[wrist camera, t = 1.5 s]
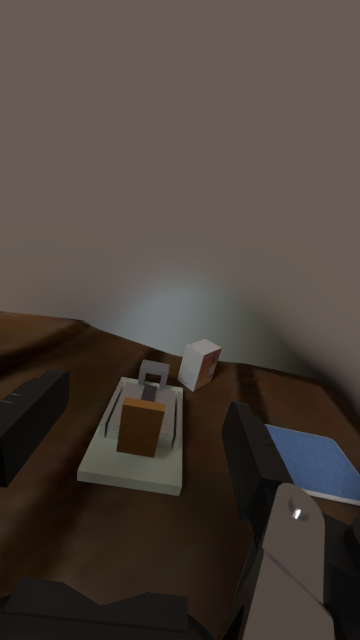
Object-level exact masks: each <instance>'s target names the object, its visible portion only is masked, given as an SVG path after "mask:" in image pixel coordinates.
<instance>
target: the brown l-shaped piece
mask: <svg viewBox="0 0 360 640" xmlns="http://www.w3.org/2000/svg"><path fill="white" fill-rule="evenodd" d="M156 391H157V386H153V385H147V384H145V386H144V390H143V393H142V397H141V400H140V399H134V398H128V397H125V399H124V402H123V405H122V413H121V420H120V427H119V435H118V442H117V449H116V452H120V453H127V454H133V455H139V456H145V457H151V458H154V456H155V452H156V447H157V443H158V439H159V435H160V430H161V426H162V422H163V418H164V413H165V406H166V404H162V403H157V402H155V397H156Z"/></svg>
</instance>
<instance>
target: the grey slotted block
mask: <svg viewBox="0 0 360 640" xmlns="http://www.w3.org/2000/svg"><path fill="white" fill-rule="evenodd" d="M123 386H124V381H120V382H119V384H118V386H117V388H116V390H115V392H114V395H113V397H112V399H111V401H110V403H109V405H108V407H107V409H106V412H105V414H104V416H103V418H102V420H101V422H100V429H99V438H104V437H105V434H106V432H107V439H112V440H118V435H119V427H120V420H121V413H122V405H123V402H124V399H125V397H128V398H134V399H140V400H141V397H142V393H143V390H144V386H145V385H141V384H135V383H129V382H126V383H125V386H124V388H123ZM175 397H176V400H175ZM155 402H157V403H162V404H166V406H165V413H164V418H163V422H162V426H161V430H160V435H159V439H158V443H157V447H160V448H166V449H170V446H171V443H172V439H173V446H172V450H177V449H178V446H179V442H180V439H181V410H182V392H179V391H178V392H177V396H176V391H174V390H168V389H163V388H157V391H156V397H155Z"/></svg>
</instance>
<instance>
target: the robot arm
mask: <svg viewBox="0 0 360 640" xmlns="http://www.w3.org/2000/svg"><path fill="white" fill-rule="evenodd" d="M68 399H69V373H68V372H65V371H60V370H54V369H50V370H48V371H47V372H46V373H45V374H44V375H43V376H42V377H40V378H39V379H38V378H34V379H32V380H29V381H27V382H25V383H23V384H21V385H20V386H19V387H18V388H16V389H15V390H14V391H13V392H11V394H9V395H8V396H6V397H5V398H4V399H3V400H2V402H0V487H5V488H7V486H8V485H9V484H10V482H11V481H12V480H13V478H14V477H15V476H16V474H17V473H18V472H19V470H20V469H21V468H22V466H23V465H24V464H25V462H26V461H27V460H28V458H29V457H30V456H31V454H32V453H33V452H34V450H35V449H36V448H37V446H38V445H39V444H40V442H41V441H42V440H43V438H44V437H45V436H46V434H47V433H48V432H49V430H50V429H51V428H52V426H53V425H54V424H55V422H56V421H57V420H58V418H59V417H60V416H61V414H62V413H63V412H64V410H65V408H66V406H67V403H68ZM222 439H223V443H224V448H225V452H226V457H227V461H228V466H229V470H230V475H231V479H232V484H233V489H234V493H235V498H236V502H237V507H238V511H239V516H240V520H241V522H243V523H251V524H252V527H253V531H254V535H253V537H252V539H251V542H250V546H249V549H248V552H247V555H246V558H245V561H244V564H243V568H242V571H241V574H240V577H239V580H238V583H237V587H236V590H235V593H234V596H233V599H232V602H231V604H230V607H229V609H228V612H227V614H226V616H225V619H224V622H223V624H222V627H221V630H220V633H219V636H218V639H217V640H334V634H335V636H336V639H337V640H360V518H356V519H355V520H354V521H353V522H352V524H351V525H350V526H349V525H347V524H345V523H343V522H341V521H339V520H337V519H335V518H333V517H331V516H329V515H326V514H324V513H323V512H321V511H320V509H319V507H318V506H317V504H316V503H315V501H314V500H313V499H312V498H311V497H310V496H309V495H308V494H307V493H306V492H305V491H304V490H302V489H301V488H299V487H298V486H296V485H295V484H294V482H293V480H292V478H291V475H290V473H289V471H288V469H287V467H286V465H285V463H284V461H283V459H282V457H281V455H280V453H279V451H278V449H277V448H276V445H275V443H274V441H273V439H271V435H270V433H269V431H268V429H267V427H266V425H265V424H264V423H263V422H262V421H261V420H260V419H259V418H258V417H256V416H253V413H252V411H251V409H250V407H249V405H248V404H245V403H239V402H234V401H232V402H231V404H230V406H229V409H228V412H227V415H226V418H225V421H224V424H223V428H222ZM0 640H214V639H213V637H212V636H211V635H210V633H209V632H208V631H207V630H206V629H205V628H204V627H203V626H202V625H201V624H200V623H199V622H198V621H197V620H195V619H194V618H193V617H192V616H190V615H189V614H187V597H183V596H175V595H166V594H158V593H149V592H147V593H144V594H140V595H137V596H134V597H131V598H127V599H124V600H121V601H117V602H114V603H111V604H108V605H99V604H97V603H95V602H93V601H92V600H90V599H89V598H87V597H85V596H84V595H82V594H81V593H79V592H77V591H76V590H74V589H73V588H71V587H69V586H68V585H66V584H65V583H63V582H56V581H48V580H39V579H31V578H22V577H20V579H19V581H18V583H17V585H16V587H15V589H14V591H13V593H12V595H8V596H5V597H3V598H0Z"/></svg>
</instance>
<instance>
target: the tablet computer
mask: <svg viewBox="0 0 360 640" xmlns="http://www.w3.org/2000/svg"><path fill="white" fill-rule="evenodd" d="M266 427H267V429H268V431H269V433H270V435H271V439H273V441H274V443H275V445H276V448H277V449H278V451H279V453H280V455H281V457H282V459H283V461H284V463H285V465H286V467H287V469H288V471H289V473H290V475H291V478H292V480H293V482H294V484H295V485H296V486H298V487H299V488H301V489H302V490H304V491H305V492H306V493H307V494H308V495H310V496H315V497H320V498H325V499H329V500H334V501H339V502H344V503H348V504H353V505H358V506H360V475H359V474H358V472H357V471H356V469H355V468H354V467H353V465H352V464H351V463H350V461H349V460H348V459H347V457H346V456H345V454H344V453H343V452H342V450H341V449H340V448H339V446H338V445H337V444H336V442H335V441H334V440H332V439H331V438H327V437H322V436H318V435H313V434H308V433H303V432H299V431H294V430H289V429H284V428H280V427H275V426H270V425H266Z"/></svg>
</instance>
